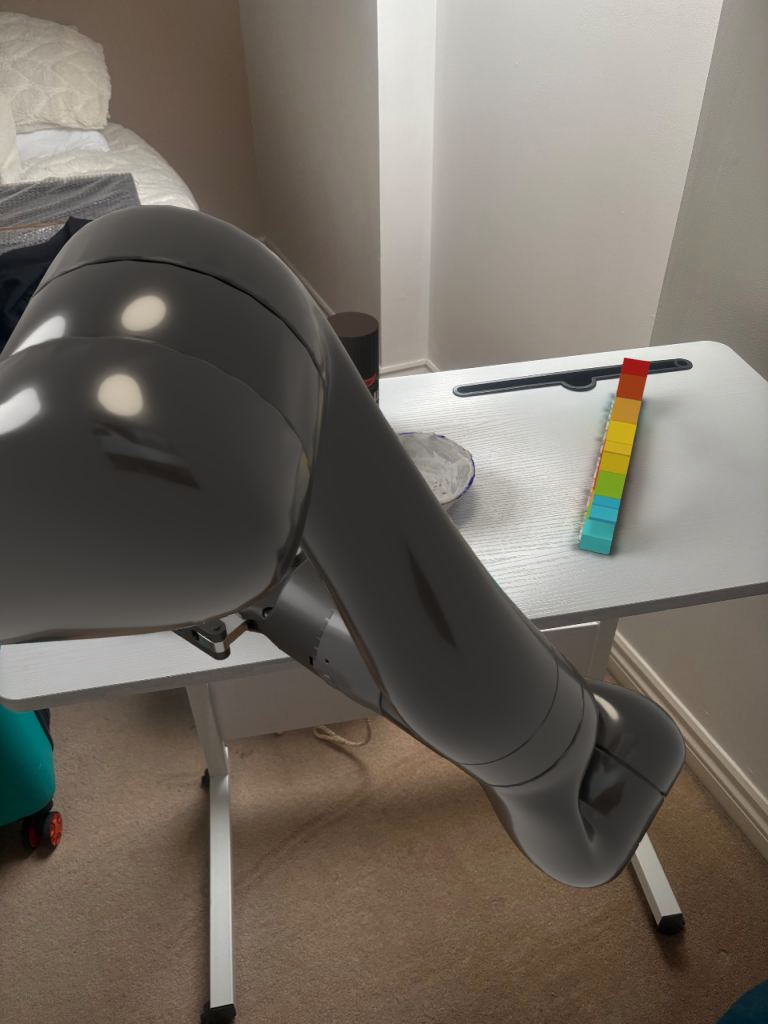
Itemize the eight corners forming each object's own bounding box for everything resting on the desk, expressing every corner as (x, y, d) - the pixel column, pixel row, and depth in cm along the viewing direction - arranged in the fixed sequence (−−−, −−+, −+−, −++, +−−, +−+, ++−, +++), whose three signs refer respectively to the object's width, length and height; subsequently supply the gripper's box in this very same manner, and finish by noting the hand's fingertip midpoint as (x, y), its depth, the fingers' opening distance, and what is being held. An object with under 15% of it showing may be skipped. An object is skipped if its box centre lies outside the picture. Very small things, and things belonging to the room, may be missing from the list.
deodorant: (379, 454, 96) (378, 337, 86) (327, 455, 96) (321, 337, 86) (379, 426, 100) (378, 311, 91) (330, 426, 100) (324, 311, 91)
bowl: (358, 462, 94) (357, 427, 91) (471, 467, 94) (474, 431, 91) (346, 537, 85) (345, 500, 81) (473, 543, 84) (476, 506, 81)
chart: (613, 396, 105) (636, 284, 96) (639, 400, 105) (665, 288, 95) (576, 548, 83) (600, 422, 74) (608, 555, 82) (637, 429, 73)
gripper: (431, 530, 54) (261, 440, 62) (273, 660, 46) (101, 536, 54) (429, 610, 59) (271, 517, 67) (285, 741, 51) (125, 616, 59)
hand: (195, 526), depth 61 cm, fingers open, 8 cm apart
